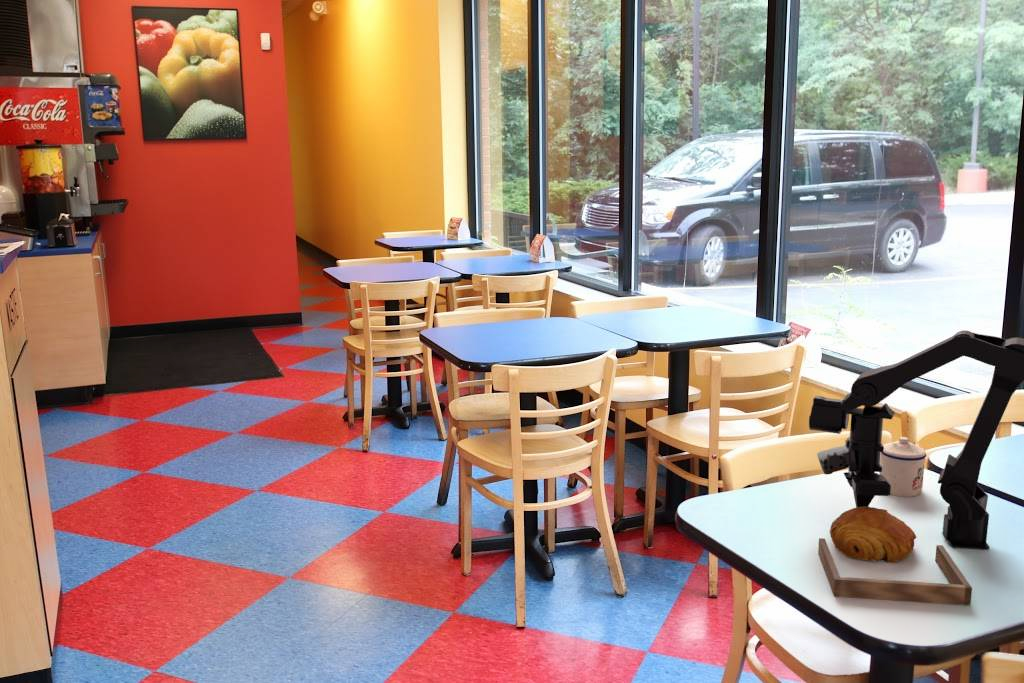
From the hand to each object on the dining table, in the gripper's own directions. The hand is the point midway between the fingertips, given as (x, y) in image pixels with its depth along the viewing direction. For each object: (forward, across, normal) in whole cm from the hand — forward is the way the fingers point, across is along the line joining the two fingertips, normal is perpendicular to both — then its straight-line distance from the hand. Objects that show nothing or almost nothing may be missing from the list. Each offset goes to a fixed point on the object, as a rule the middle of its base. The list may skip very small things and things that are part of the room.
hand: (860, 512), depth 175 cm
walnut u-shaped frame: (+2, +24, 0) cm, 24 cm away
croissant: (+2, +11, 0) cm, 12 cm away
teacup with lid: (+2, -20, +12) cm, 24 cm away
